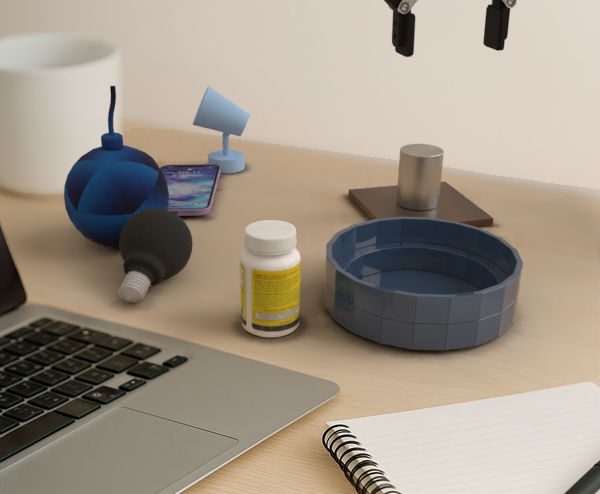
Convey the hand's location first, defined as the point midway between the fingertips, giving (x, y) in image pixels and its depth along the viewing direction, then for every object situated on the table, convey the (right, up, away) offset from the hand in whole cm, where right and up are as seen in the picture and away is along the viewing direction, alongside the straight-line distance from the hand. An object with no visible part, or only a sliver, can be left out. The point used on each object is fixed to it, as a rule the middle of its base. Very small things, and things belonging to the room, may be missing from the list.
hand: (449, 51), depth 82 cm
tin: (-2, -14, +8) cm, 16 cm away
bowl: (-5, -25, -12) cm, 28 cm away
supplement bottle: (-17, -27, -15) cm, 35 cm away
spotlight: (-24, -8, +20) cm, 33 cm away
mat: (-2, -15, +9) cm, 17 cm away
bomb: (-32, -19, 0) cm, 38 cm away
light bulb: (-28, -23, -8) cm, 37 cm away
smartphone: (-28, -13, +12) cm, 33 cm away
